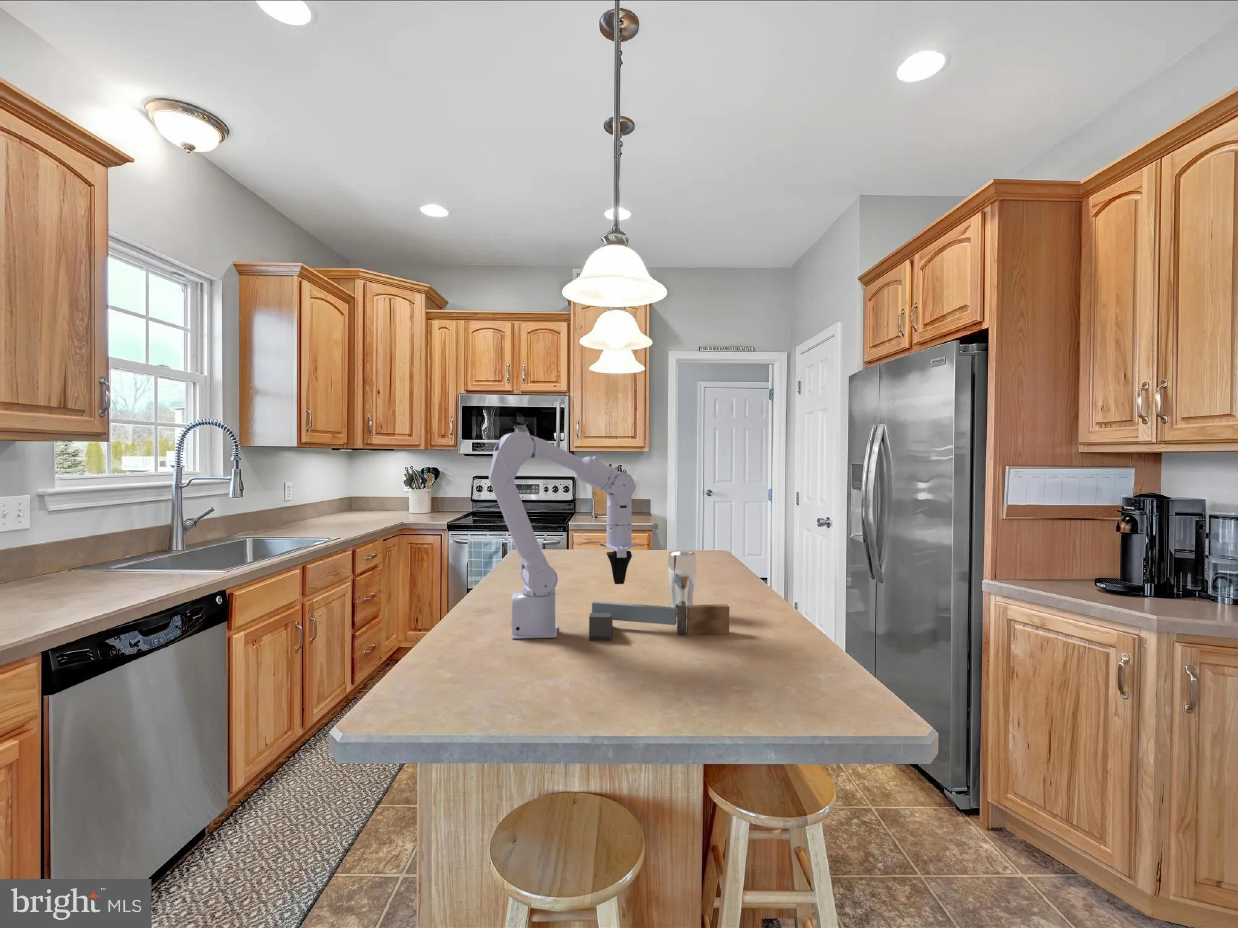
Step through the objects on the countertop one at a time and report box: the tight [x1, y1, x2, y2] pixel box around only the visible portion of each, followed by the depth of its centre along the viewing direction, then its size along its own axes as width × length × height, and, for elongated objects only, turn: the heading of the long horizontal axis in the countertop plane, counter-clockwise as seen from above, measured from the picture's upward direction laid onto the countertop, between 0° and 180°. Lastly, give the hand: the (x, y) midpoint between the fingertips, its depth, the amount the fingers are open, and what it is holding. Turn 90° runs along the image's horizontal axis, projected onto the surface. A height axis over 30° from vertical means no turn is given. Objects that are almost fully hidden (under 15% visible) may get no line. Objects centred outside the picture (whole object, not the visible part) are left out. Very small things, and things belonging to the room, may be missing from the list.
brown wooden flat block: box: [676, 603, 730, 636], centre depth 125 cm, size 11×2×6 cm, turn 95°
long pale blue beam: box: [591, 600, 677, 626], centre depth 128 cm, size 19×2×4 cm, turn 74°
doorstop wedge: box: [588, 612, 613, 642], centre depth 125 cm, size 10×4×5 cm, turn 178°
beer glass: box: [667, 550, 697, 619], centre depth 140 cm, size 7×7×15 cm
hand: (619, 583), depth 132 cm, fingers closed
